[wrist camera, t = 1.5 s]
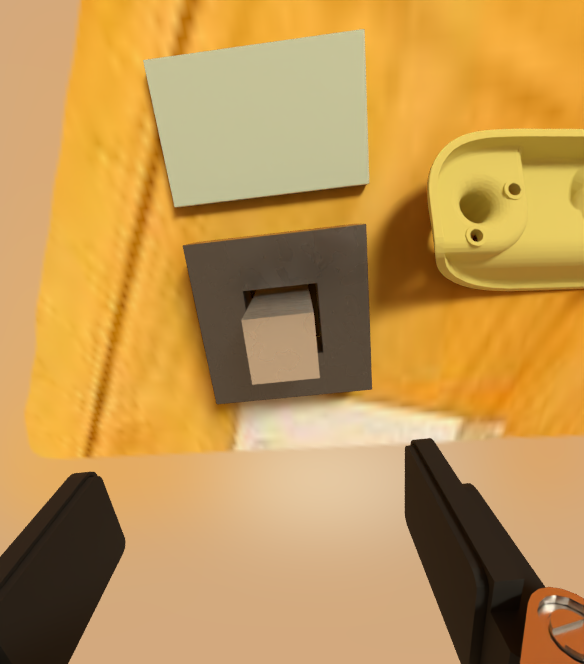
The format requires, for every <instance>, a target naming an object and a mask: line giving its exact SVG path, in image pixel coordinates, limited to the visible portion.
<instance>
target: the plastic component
mask: <svg viewBox="0 0 584 664" xmlns="http://www.w3.org/2000/svg"><path fill="white" fill-rule="evenodd" d="M427 199H428V209H429V216H430V222H431V227H432V234H433V242H434V250H435V258H436V264H437V267H438V269H439V271H440V272H441V273H442V275H443V276H445V277H446V278H447V279H449V280H451V281H452V282H454V283H457V284H459V285H462V286H465V287H469V288H473V289H481V290H491V291H527V290H561V289H584V129H497V130H485V131H478V132H473V133H469V134H466V135H463V136H461V137H458V138H456V139H455V140H453V141H451V142H450V143H449V144H448V145H446V146H445V147H444V148H443V149H442V151H441V152H440V153H439V154H438V156H437V157H436V159H435V161H434V163H433V165H432V167H431V169H430V172H429V176H428V182H427ZM475 235H476V237H477V242H476V241H473V240H472V239H471V238H472V237H474V236H475Z"/></svg>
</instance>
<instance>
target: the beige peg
mask: <svg viewBox="0 0 584 664" xmlns="http://www.w3.org/2000/svg"><path fill="white" fill-rule="evenodd" d="M241 321H242V327H243V333H244V339H245V345H246V351H247V357H248V362H249V368H250V374H251V380H252V385H254V384H265V383H275V382H285V381H295V380H305V379H316V378H320V373H319V363H318V352H317V341H316V331H315V320H314V311H313V306H312V302H311V297H310V293H309V288H308V284H303V285H294V286H285V287H275V288H266V289H257V291H256V293H255V295H254V297H253V299H252V301H251V303H250V305H249V307H248V308H247V310H246V312H245V314H244V316H243V318H242V320H241Z"/></svg>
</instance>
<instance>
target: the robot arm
mask: <svg viewBox="0 0 584 664" xmlns="http://www.w3.org/2000/svg"><path fill="white" fill-rule="evenodd" d="M405 518H406V522H407V526H408V529H409V531H410V534H411V536H412V539H413V542H414V544H415V547H416V549H417V552H418V554H419V557H420V560H421V562H422V565H423V567H424V570H425V572H426V575H427V578H428V580H429V583H430V585H431V588H432V591H433V593H434V596H435V598H436V601H437V603H438V606H439V609H440V611H441V614H442V616H443V619H444V621H445V624H446V626H447V629H448V632H449V634H450V637H451V639H452V642H453V645H454V647H455V650H456V652H457V655H458V657H459V660H460V662H461V664H584V598H582V597H580V596H578V595H577V594H574V593H572V592H569V591H566V590H564V589H560V588H553V587H545V586H544V585H543V583H542V582H541V580H540V579H539V578H538V576H537V575H536V573H535V572H534V570H533V569H532V568H531V566H530V565H529V563H528V562H527V560H526V559H525V557H524V556H523V555H522V553H521V552H520V550H519V549H518V547H517V546H516V545H515V543H514V542H513V540H512V539H511V537H510V536H509V535H508V533H507V532H506V530H505V529H504V527H503V526H502V525H501V523H500V522H499V520H498V519H497V517H496V516H495V515H494V513H493V512H492V510H491V509H490V507H489V506H488V505H487V503H486V502H485V500H484V499H483V497H482V496H481V495H480V493H479V492H478V490H477V489H476V488H475V487H474V486H473V485H472V484H470V483H469V484H468V483H467V484H462V483H461V482H460V480H459V479H458V478H457V476H456V474H455V473H454V471H453V470H452V468H451V466H450V465H449V464H448V462H447V460H446V459H445V458H444V456H443V454H442V453H441V451H440V450H439V448H438V447H437V445H436V444H435V442H434V441H433V440H432V439H431V438H428V439H418V440H412V441H411V445H409V446H406V447H405ZM124 549H125V537H124V535H123V532H122V530H121V527H120V524H119V522H118V519H117V516H116V514H115V511H114V509H113V506H112V503H111V501H110V498H109V495H108V493H107V490H106V488H105V485H104V482H103V480H102V478H101V477H100V476H97V474H96V473H95V472H84V473H74V474H72V475H70V477H68V478H67V480H66V481H65V482H64V483H63V484H62V486H61V487H60V488H59V489H58V490H57V491H56V493H55V494H54V495H53V496H52V497H51V498H50V499H49V501H48V502H47V503H46V504H45V505H44V506H43V508H42V509H41V510H40V511H39V512H38V513H37V515H36V516H35V517H34V518H33V519H32V520H31V522H30V523H29V524H28V525H27V526H26V527H25V529H24V530H23V531H22V532H21V533H20V535H19V536H18V537H17V538H16V539H15V540H14V541H13V543H12V544H11V545H10V546H9V547H8V549H7V550H6V551H5V552H4V553H3V554H2V555H1V557H0V664H68V662H69V661H70V659H71V656H72V655H73V653H74V651H75V649H76V647H77V645H78V643H79V640H80V639H81V637H82V635H83V633H84V631H85V628H86V627H87V625H88V623H89V621H90V618H91V617H92V614H93V612H94V611H95V608H96V607H97V605H98V602H99V601H100V599H101V596H102V594H103V592H104V590H105V588H106V586H107V584H108V582H109V580H110V578H111V576H112V574H113V572H114V570H115V568H116V566H117V564H118V562H119V560H120V558H121V556H122V554H123V552H124Z"/></svg>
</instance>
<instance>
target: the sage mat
mask: <svg viewBox="0 0 584 664" xmlns="http://www.w3.org/2000/svg"><path fill="white" fill-rule="evenodd" d="M143 62H144V66H145V71H146V76H147V80H148V85H149V90H150V94H151V99H152V104H153V108H154V113H155V118H156V122H157V127H158V132H159V136H160V141H161V146H162V150H163V155H164V160H165V164H166V169H167V174H168V178H169V183H170V188H171V192H172V197H173V202H174V206H175V207H187V206H195V205H203V204H212V203H220V202H228V201H236V200H245V199H253V198H261V197H269V196H277V195H286V194H294V193H302V192H310V191H319V190H327V189H335V188H343V187H351V186H360V185H367V184H369V160H368V128H367V96H366V64H365V33H364V29H361V30H354V31H347V32H340V33H333V34H326V35H319V36H312V37H304V38H297V39H290V40H283V41H276V42H269V43H262V44H255V45H248V46H241V47H234V48H226V49H219V50H212V51H205V52H198V53H191V54H184V55H177V56H170V57H163V58H156V59H148V60H143Z"/></svg>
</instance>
